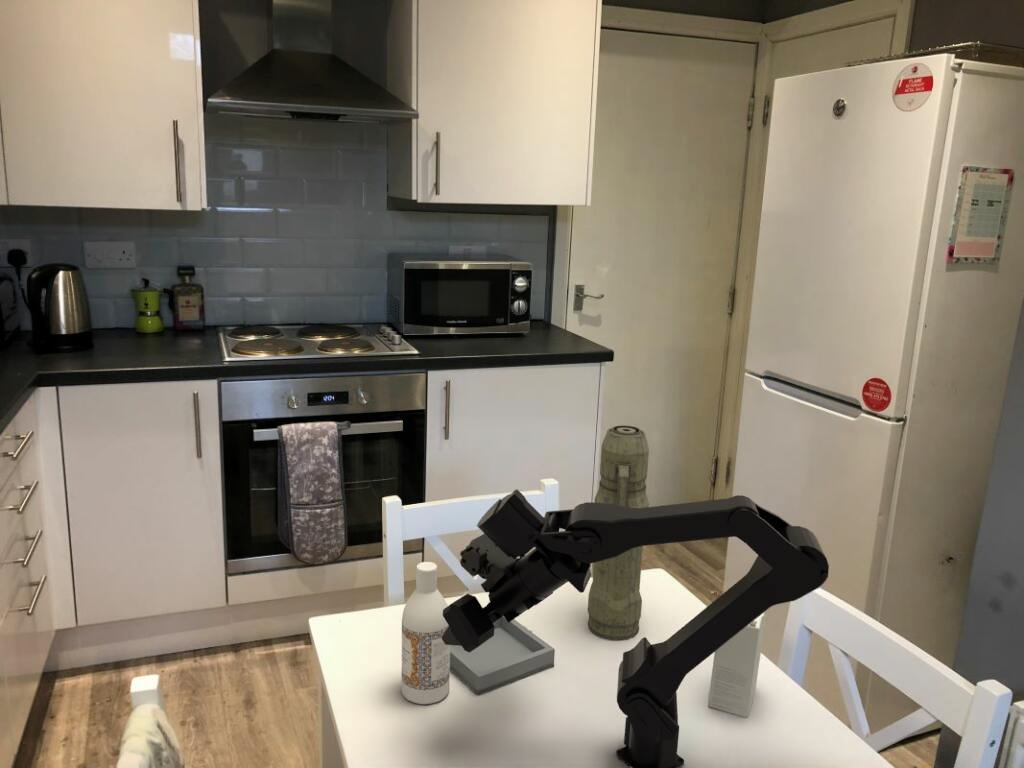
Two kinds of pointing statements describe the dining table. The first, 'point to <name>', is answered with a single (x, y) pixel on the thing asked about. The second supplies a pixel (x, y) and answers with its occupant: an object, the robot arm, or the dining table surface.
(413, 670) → the bath foam
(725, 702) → the skincare box
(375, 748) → the dining table surface
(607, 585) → the thermos
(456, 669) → the grey square tray
